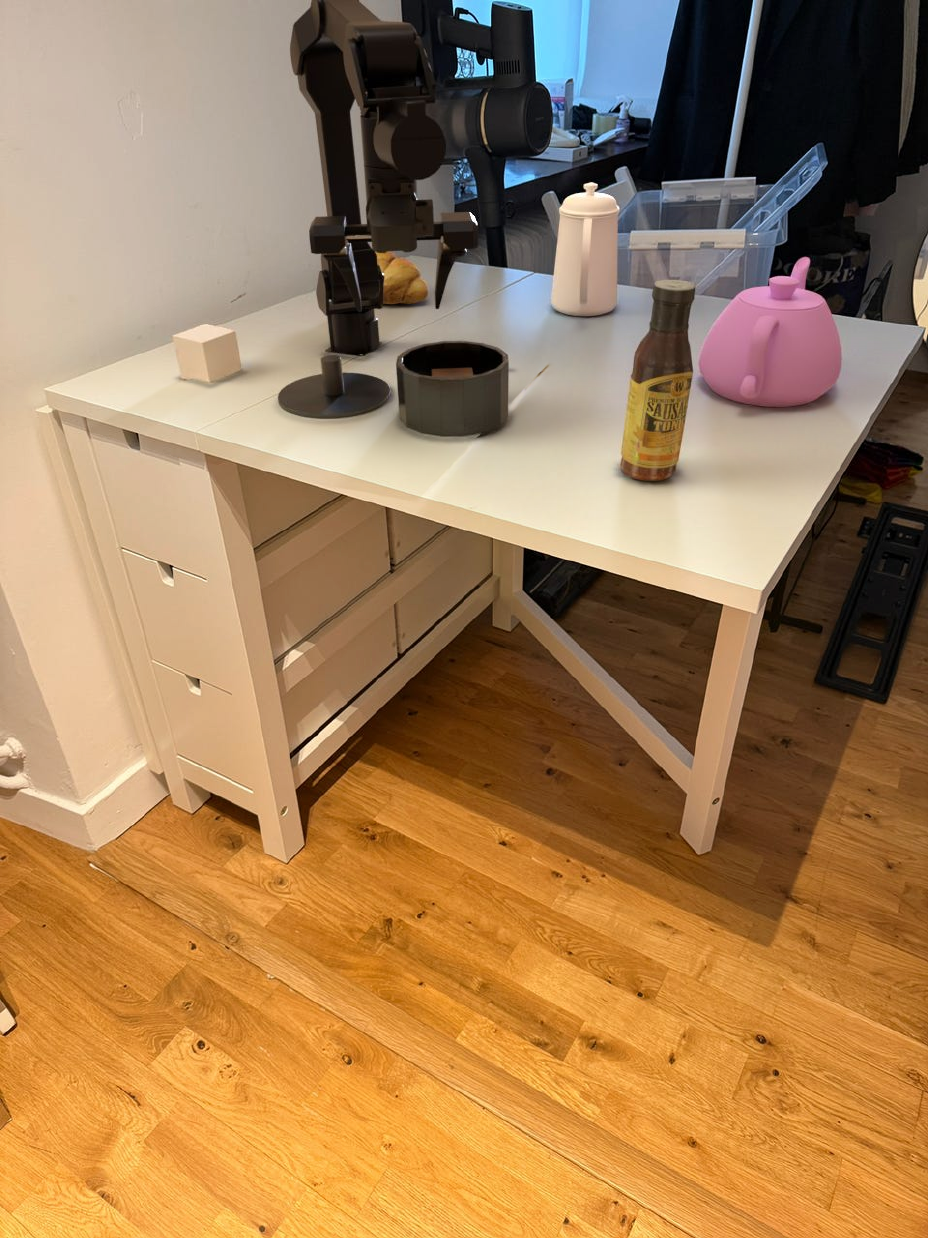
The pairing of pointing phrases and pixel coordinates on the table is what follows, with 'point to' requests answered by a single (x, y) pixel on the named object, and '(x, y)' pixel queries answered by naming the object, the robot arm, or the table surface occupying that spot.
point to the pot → (453, 389)
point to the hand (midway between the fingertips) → (398, 309)
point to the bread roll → (401, 280)
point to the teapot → (773, 345)
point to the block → (452, 372)
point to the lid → (334, 392)
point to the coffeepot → (586, 254)
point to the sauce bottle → (660, 386)
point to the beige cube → (207, 353)
